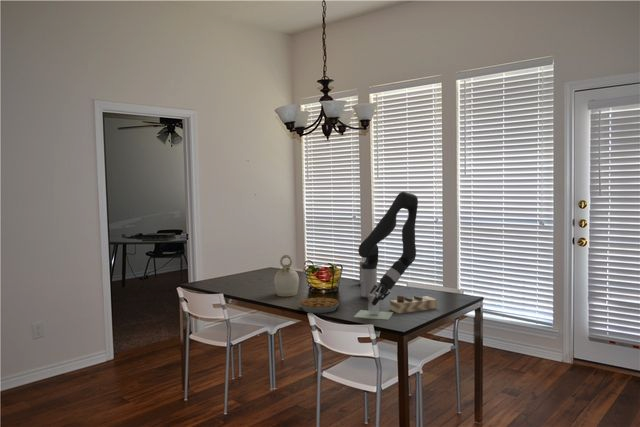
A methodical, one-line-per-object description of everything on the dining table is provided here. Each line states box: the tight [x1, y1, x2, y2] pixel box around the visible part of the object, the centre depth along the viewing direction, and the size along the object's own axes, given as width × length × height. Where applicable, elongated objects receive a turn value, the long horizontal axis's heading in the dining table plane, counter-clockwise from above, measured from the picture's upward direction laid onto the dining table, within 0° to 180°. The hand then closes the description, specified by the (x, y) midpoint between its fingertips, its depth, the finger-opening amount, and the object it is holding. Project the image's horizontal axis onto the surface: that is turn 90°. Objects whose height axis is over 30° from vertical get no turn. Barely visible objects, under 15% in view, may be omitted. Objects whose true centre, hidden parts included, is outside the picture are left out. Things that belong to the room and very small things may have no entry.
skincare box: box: [359, 260, 365, 285], centre depth 344 cm, size 8×7×16 cm
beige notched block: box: [389, 294, 438, 314], centre depth 276 cm, size 24×9×8 cm, turn 112°
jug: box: [273, 254, 300, 298], centre depth 316 cm, size 15×16×25 cm
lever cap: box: [367, 293, 380, 315], centre depth 265 cm, size 4×4×10 cm
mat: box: [353, 309, 394, 321], centre depth 265 cm, size 18×14×1 cm
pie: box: [299, 296, 340, 314], centre depth 281 cm, size 22×22×5 cm
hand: (370, 303), depth 264 cm, fingers open, 5 cm apart
